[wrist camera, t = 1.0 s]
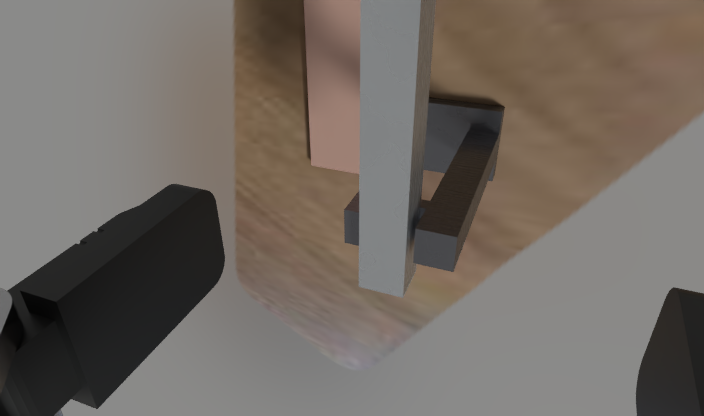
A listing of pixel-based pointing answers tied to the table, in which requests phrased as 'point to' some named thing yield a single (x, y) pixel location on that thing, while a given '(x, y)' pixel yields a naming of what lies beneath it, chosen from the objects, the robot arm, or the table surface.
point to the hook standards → (449, 179)
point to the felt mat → (333, 82)
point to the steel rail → (392, 137)
